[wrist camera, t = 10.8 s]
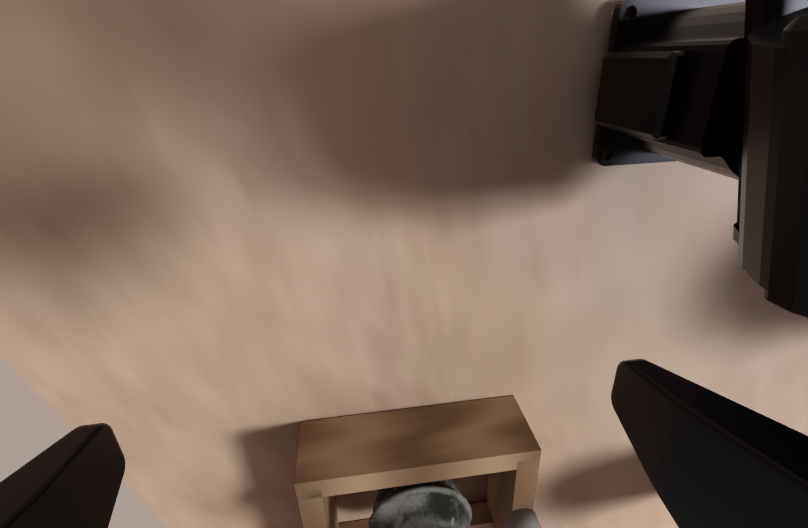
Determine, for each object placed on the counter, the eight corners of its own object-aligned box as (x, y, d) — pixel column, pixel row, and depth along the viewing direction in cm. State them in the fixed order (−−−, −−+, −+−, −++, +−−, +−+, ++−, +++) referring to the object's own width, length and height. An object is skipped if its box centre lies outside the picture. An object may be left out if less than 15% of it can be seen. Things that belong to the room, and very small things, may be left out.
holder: (516, 394, 26) (552, 462, 22) (505, 506, 30) (533, 580, 26) (297, 422, 25) (287, 499, 20) (318, 534, 29) (314, 617, 25)
